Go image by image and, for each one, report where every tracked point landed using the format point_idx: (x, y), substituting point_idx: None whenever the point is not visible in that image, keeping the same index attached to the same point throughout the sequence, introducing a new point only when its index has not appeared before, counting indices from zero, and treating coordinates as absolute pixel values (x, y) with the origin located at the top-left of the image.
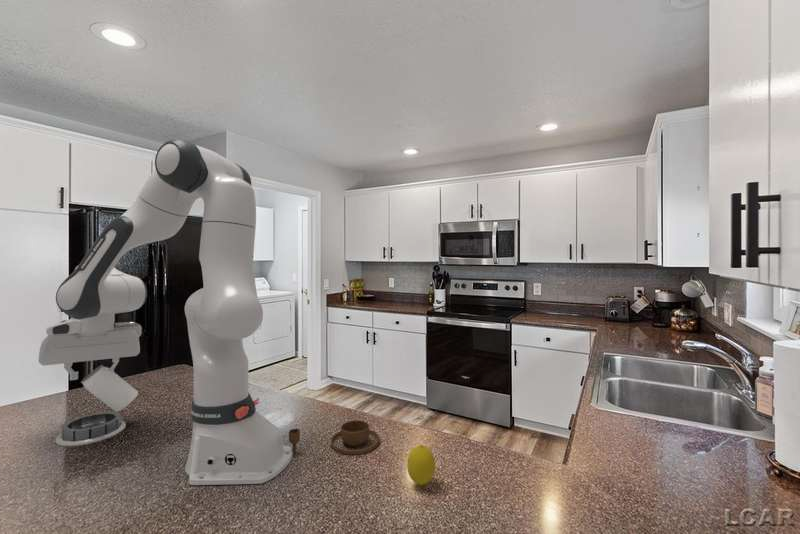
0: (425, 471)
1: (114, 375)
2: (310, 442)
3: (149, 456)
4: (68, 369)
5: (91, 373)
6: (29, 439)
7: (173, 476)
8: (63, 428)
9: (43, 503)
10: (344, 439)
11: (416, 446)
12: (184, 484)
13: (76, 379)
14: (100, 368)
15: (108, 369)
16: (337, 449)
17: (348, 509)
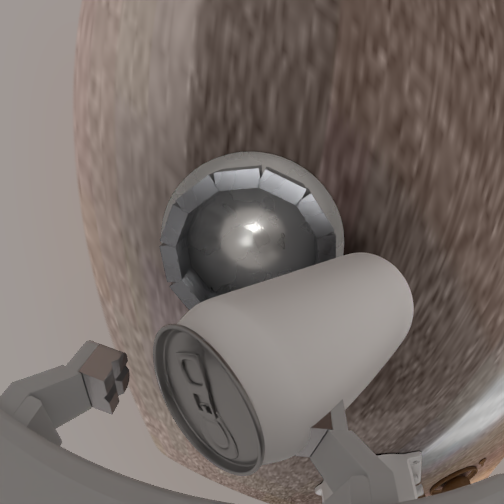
0: None
1: None
2: (443, 470)
3: None
4: (58, 422)
5: (198, 332)
6: (110, 157)
7: (311, 475)
8: (167, 267)
9: (181, 444)
10: (443, 490)
11: None
12: (311, 486)
13: (125, 379)
14: (243, 472)
15: (297, 455)
16: (431, 490)
17: None
